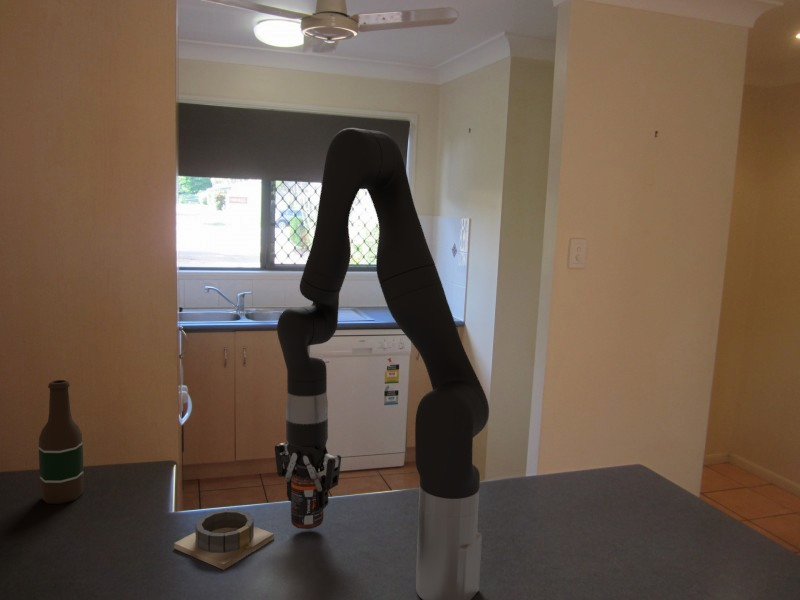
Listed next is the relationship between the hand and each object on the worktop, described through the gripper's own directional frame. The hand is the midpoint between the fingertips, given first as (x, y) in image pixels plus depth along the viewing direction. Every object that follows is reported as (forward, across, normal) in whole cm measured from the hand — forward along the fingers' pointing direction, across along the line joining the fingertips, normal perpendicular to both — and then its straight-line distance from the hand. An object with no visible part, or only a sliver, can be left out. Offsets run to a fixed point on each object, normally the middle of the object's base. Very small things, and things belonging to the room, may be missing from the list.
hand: (307, 504), depth 113 cm
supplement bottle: (+4, 0, 0) cm, 4 cm away
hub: (+5, +9, +11) cm, 16 cm away
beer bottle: (+5, +50, +16) cm, 53 cm away
